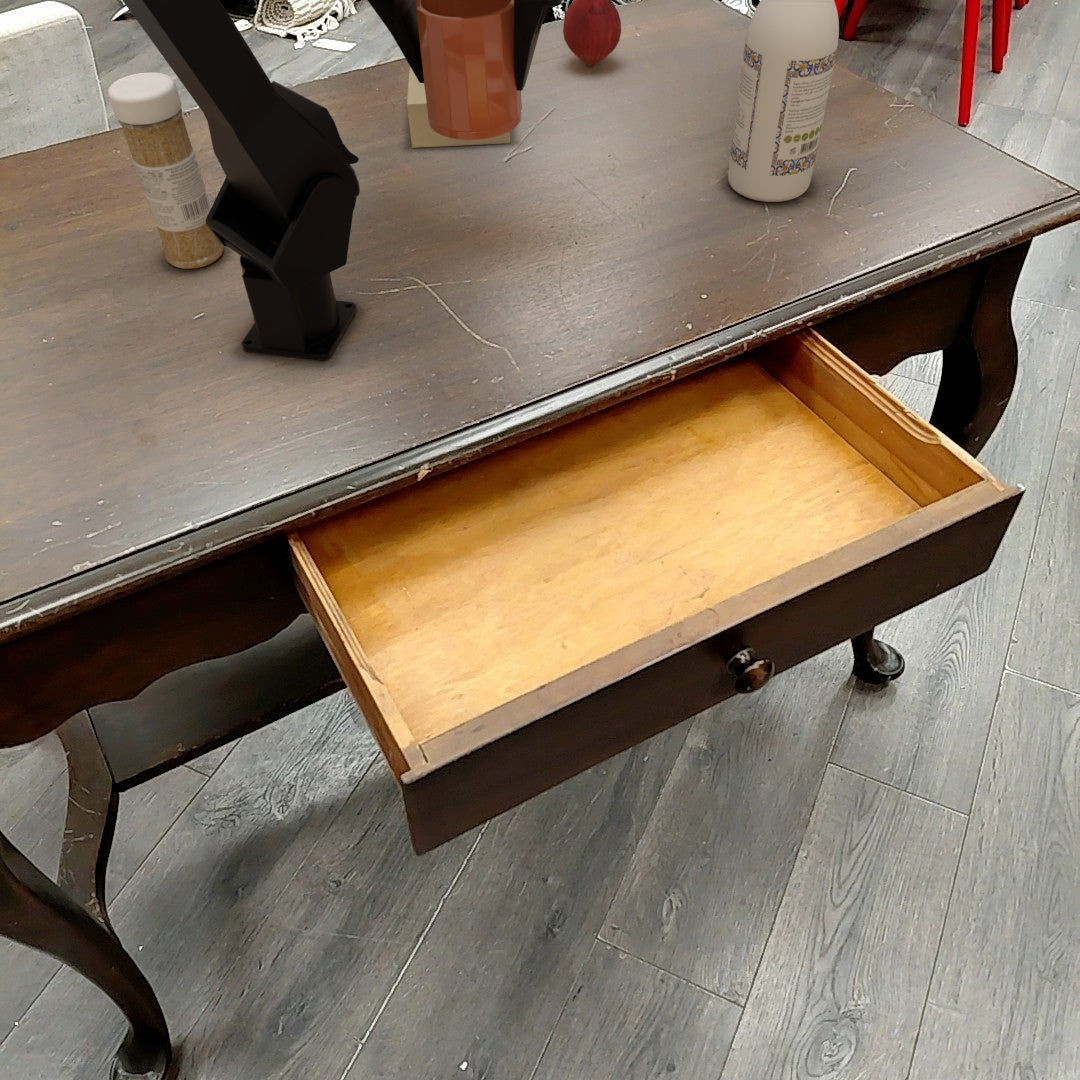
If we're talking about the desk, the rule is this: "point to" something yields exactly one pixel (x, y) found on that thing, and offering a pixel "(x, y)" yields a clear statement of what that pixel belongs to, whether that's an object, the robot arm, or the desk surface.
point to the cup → (469, 67)
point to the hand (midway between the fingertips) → (472, 84)
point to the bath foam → (782, 97)
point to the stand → (421, 129)
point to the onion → (592, 29)
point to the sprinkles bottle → (166, 166)
